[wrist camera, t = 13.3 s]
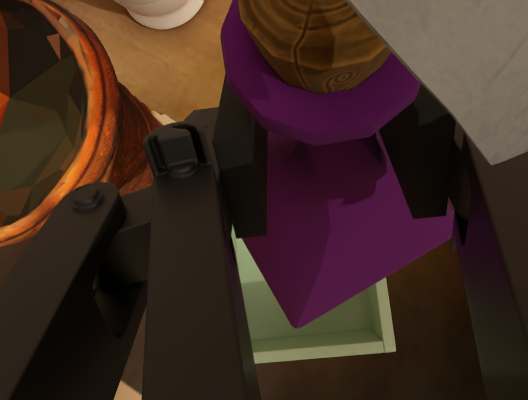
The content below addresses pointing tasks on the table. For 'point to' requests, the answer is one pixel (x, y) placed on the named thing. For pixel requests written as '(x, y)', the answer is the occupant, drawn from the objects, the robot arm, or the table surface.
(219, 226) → the robot arm
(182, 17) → the jar
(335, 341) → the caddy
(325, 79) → the perfume bottle
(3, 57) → the vessel
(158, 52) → the table surface
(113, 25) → the table surface
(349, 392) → the table surface
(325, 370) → the table surface
